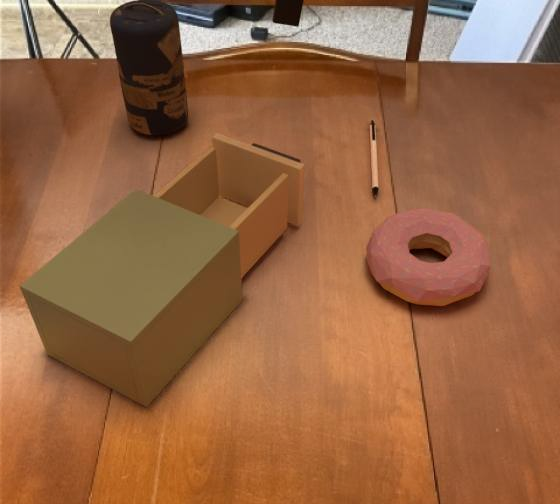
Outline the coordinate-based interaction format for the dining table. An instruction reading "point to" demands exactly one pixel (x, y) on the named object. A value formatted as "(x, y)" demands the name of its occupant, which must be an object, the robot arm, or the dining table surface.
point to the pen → (374, 158)
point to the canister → (150, 65)
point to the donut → (422, 275)
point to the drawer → (242, 192)
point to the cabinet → (137, 294)
